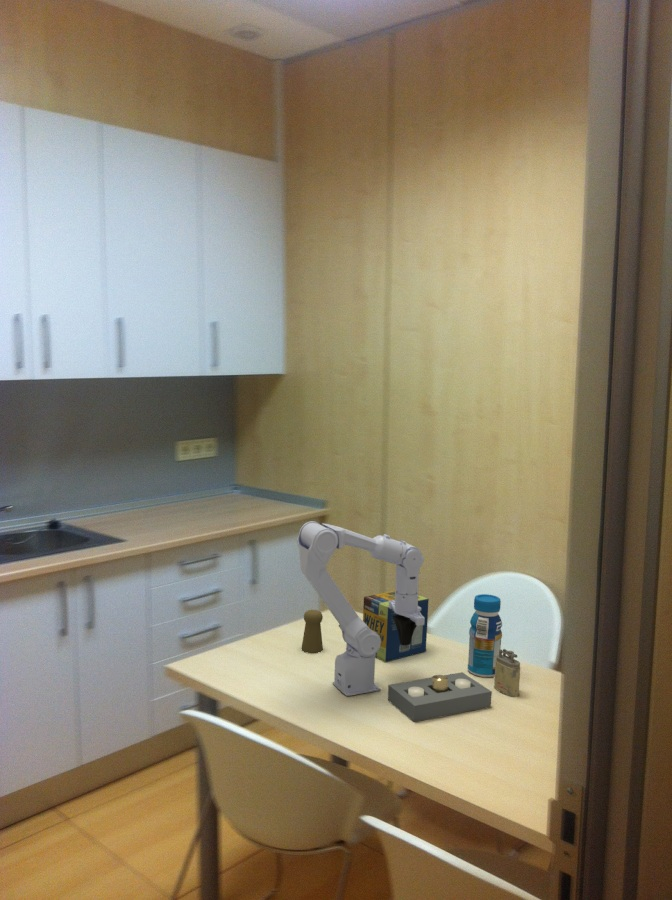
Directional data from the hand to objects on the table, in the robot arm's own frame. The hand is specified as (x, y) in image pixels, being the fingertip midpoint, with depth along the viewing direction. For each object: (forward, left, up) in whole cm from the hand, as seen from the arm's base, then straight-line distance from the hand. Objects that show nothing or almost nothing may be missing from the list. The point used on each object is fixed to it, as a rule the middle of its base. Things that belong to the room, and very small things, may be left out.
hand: (405, 644), depth 191 cm
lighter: (+20, -15, -10) cm, 27 cm away
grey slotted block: (+1, -15, -9) cm, 18 cm away
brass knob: (+1, -15, -7) cm, 17 cm away
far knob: (+8, -15, -9) cm, 19 cm away
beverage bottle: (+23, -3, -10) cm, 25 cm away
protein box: (+7, +18, -10) cm, 22 cm away
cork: (-14, +27, -10) cm, 32 cm away
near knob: (-6, -15, -9) cm, 18 cm away
